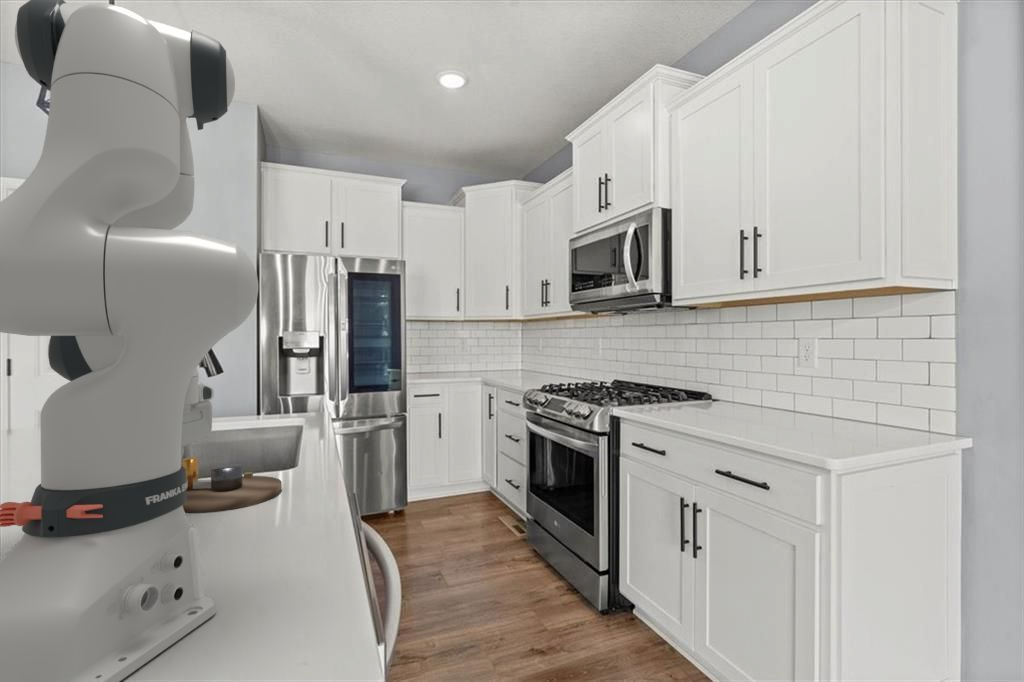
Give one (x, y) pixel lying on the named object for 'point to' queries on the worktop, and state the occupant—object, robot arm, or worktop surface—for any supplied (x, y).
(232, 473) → the dial pointer
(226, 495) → the dial plate
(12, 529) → the worktop surface
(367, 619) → the worktop surface
